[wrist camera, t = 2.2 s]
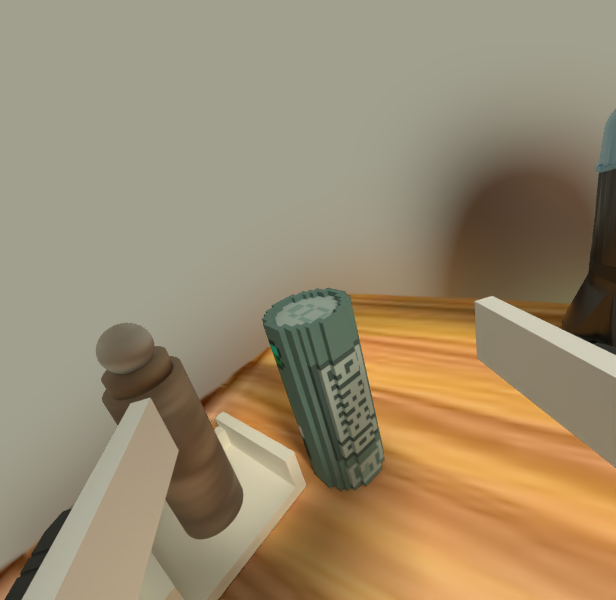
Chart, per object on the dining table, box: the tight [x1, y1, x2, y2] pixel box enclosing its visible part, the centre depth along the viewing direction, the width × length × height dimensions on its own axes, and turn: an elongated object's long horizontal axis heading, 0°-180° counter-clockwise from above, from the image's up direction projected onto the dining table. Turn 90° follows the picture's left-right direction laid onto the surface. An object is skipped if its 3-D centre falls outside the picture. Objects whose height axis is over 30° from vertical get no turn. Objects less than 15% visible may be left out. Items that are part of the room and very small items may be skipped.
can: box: [262, 288, 384, 491], centre depth 25 cm, size 6×6×15 cm
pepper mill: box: [96, 323, 243, 539], centre depth 23 cm, size 5×5×17 cm
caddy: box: [137, 412, 307, 600], centre depth 22 cm, size 22×10×4 cm, turn 140°
